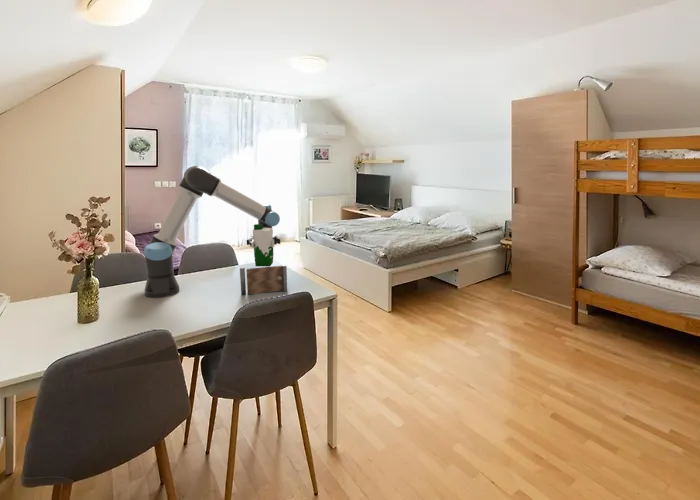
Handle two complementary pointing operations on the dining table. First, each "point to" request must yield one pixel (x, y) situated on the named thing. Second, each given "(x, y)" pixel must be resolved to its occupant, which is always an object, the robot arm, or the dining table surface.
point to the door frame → (243, 285)
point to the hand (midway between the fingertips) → (262, 244)
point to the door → (264, 279)
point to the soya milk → (263, 245)
